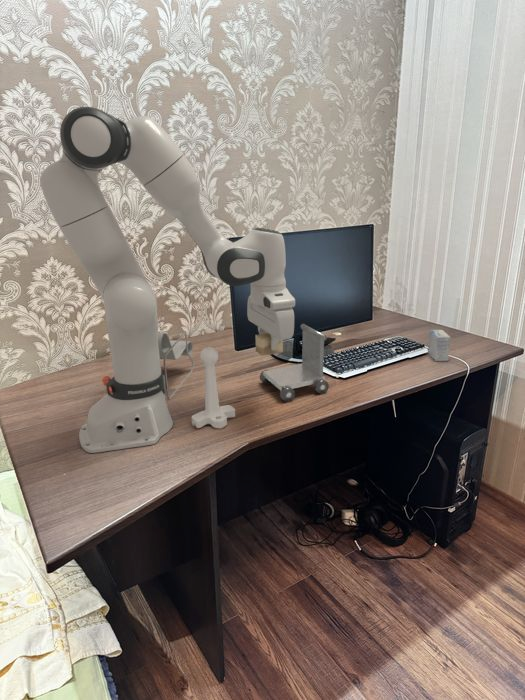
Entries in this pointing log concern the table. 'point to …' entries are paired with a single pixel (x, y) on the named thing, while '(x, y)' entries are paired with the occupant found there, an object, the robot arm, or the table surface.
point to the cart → (301, 368)
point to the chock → (266, 345)
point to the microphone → (328, 340)
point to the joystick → (212, 395)
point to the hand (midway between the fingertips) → (269, 346)
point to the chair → (173, 353)
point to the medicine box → (439, 345)
